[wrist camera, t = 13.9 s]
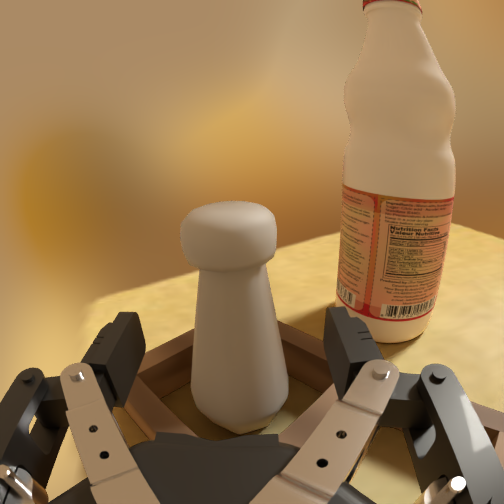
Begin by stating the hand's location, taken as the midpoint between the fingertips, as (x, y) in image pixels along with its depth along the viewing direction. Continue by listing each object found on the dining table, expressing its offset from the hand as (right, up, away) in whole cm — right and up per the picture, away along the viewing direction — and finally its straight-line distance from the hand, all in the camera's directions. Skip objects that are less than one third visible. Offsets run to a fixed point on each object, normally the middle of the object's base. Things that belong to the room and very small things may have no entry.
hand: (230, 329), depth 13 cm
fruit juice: (+13, -3, +15) cm, 20 cm away
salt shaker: (0, -7, +6) cm, 9 cm away
